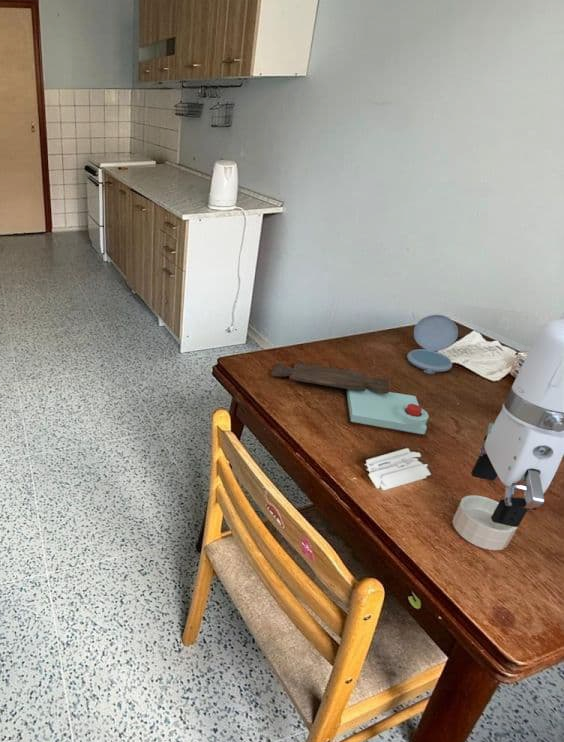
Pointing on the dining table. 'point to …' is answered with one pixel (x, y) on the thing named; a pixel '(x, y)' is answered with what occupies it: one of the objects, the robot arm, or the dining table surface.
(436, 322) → the open compact mirror
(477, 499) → the bowl
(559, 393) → the robot arm
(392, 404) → the scale
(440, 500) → the dining table surface
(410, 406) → the tare button
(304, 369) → the dark wooden board
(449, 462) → the dining table surface
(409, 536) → the dining table surface
